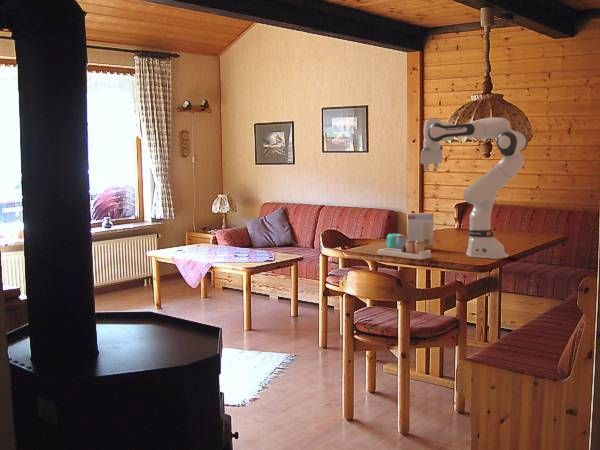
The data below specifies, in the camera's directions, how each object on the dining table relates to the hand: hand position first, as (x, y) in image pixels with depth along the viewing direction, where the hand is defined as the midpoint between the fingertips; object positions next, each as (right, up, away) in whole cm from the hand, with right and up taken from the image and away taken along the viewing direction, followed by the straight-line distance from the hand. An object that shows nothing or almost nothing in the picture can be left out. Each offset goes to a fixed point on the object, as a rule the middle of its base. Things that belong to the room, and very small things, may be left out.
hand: (431, 171), depth 398 cm
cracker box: (-4, -44, +12) cm, 46 cm away
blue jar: (-17, -45, +4) cm, 48 cm away
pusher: (-15, -47, -13) cm, 51 cm away
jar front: (-10, -48, -21) cm, 53 cm away
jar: (-14, -47, -17) cm, 52 cm away
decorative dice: (-18, -44, +17) cm, 50 cm away
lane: (-18, -47, -14) cm, 52 cm away
